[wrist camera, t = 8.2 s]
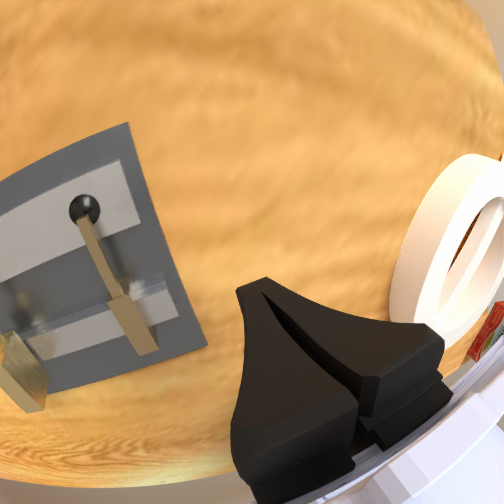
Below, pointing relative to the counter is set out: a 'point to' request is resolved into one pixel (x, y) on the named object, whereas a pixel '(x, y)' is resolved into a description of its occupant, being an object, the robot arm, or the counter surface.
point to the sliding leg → (22, 374)
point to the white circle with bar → (452, 250)
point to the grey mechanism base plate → (90, 265)
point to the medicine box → (488, 332)
